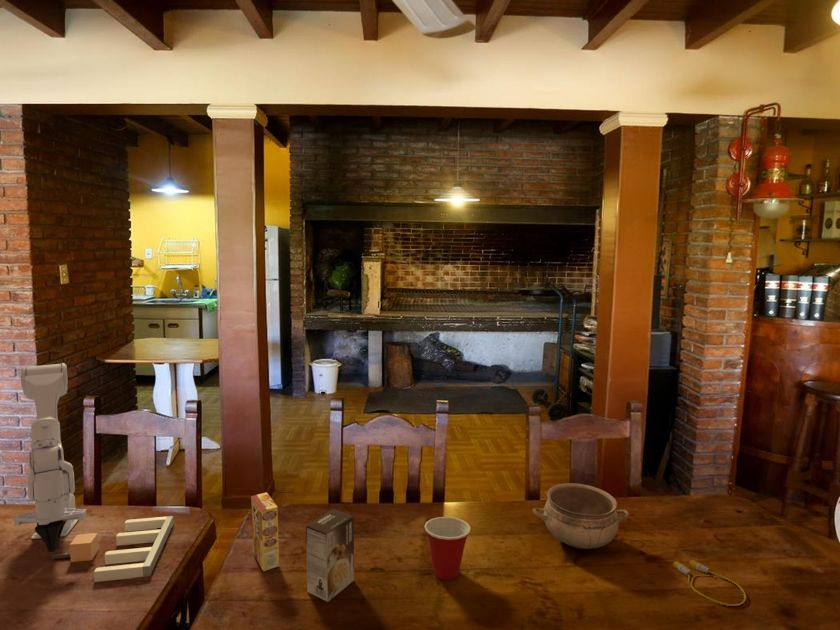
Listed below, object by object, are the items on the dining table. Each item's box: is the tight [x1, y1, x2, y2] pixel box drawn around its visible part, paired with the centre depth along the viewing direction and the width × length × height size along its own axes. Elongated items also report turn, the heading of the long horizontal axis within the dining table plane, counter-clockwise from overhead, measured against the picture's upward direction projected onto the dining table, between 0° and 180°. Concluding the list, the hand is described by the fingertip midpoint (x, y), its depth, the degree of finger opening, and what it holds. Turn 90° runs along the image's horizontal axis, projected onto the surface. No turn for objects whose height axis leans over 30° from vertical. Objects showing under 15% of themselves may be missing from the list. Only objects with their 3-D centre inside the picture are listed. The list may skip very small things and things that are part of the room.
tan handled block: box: [51, 532, 100, 563], centre depth 127 cm, size 4×9×4 cm, turn 103°
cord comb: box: [93, 515, 174, 583], centre depth 131 cm, size 23×12×2 cm, turn 13°
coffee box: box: [305, 508, 355, 603], centre depth 118 cm, size 9×6×16 cm
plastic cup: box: [423, 516, 471, 581], centre depth 124 cm, size 11×11×12 cm
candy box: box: [250, 492, 280, 572], centre depth 127 cm, size 9×4×15 cm, turn 33°
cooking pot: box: [532, 482, 630, 550], centre depth 138 cm, size 25×19×12 cm
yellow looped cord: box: [672, 559, 747, 607], centre depth 122 cm, size 12×16×2 cm
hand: (53, 549), depth 126 cm, fingers closed
